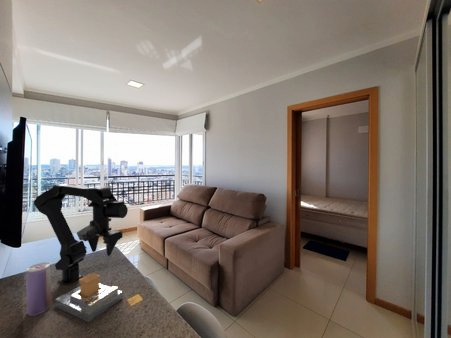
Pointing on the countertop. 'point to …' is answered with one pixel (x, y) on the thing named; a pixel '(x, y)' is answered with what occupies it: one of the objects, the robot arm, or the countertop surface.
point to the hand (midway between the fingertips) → (101, 253)
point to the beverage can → (38, 288)
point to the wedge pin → (89, 285)
